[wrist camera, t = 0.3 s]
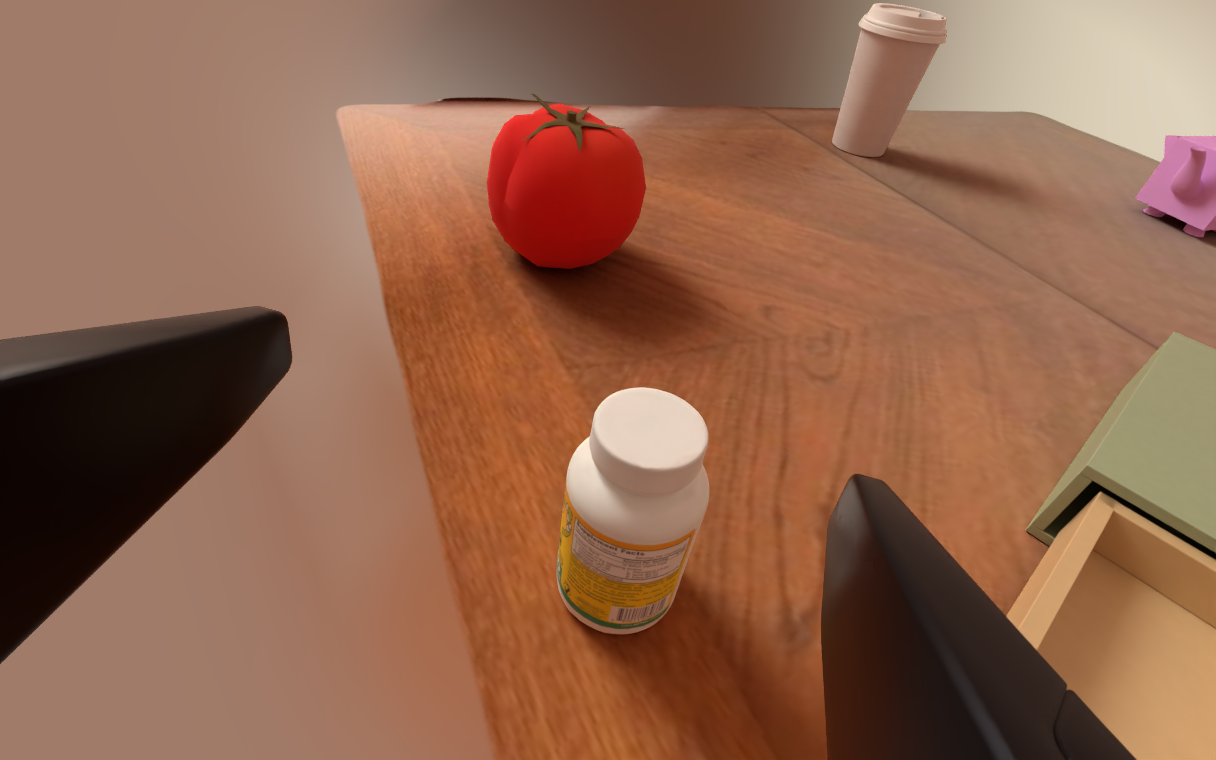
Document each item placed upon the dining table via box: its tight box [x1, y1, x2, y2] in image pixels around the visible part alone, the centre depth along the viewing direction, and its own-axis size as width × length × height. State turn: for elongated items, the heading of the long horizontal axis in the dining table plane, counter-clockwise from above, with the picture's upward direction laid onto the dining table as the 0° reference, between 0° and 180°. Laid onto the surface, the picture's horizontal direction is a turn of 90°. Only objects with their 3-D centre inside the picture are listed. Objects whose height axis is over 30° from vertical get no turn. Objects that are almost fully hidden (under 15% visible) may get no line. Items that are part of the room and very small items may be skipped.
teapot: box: [1135, 136, 1216, 237], centre depth 68 cm, size 18×13×10 cm
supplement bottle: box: [556, 388, 709, 634], centre depth 24 cm, size 5×5×10 cm
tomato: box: [487, 94, 646, 269], centre depth 44 cm, size 12×12×11 cm
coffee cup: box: [832, 3, 947, 157], centre depth 72 cm, size 10×10×15 cm
